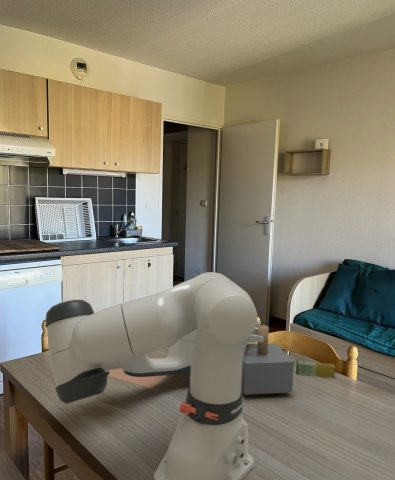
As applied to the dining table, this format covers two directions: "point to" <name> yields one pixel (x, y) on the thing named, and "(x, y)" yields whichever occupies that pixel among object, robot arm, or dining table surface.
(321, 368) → the medication box
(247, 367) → the cover
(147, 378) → the mat
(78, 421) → the dining table surface
